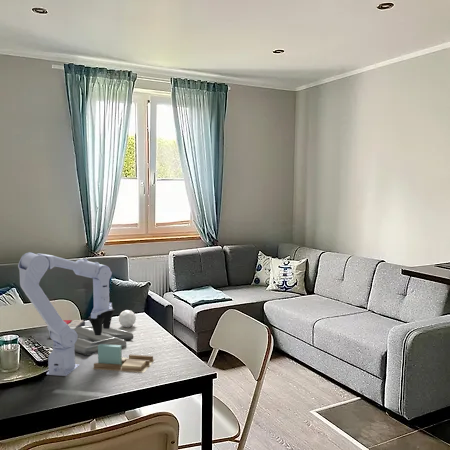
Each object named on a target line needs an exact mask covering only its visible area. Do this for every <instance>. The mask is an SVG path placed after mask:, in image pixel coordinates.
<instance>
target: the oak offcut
mask: <svg viewBox="0 0 450 450" xmlns="http://www.w3.org/2000/svg"><path fill="white" fill-rule="evenodd" d="M145 364H146V361H135V360H126V361H125V362H124V364H123V365H122V368H135V369H141V368H142V367H143V366H144V365H145Z"/></svg>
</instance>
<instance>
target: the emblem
mask: <svg viewBox="0 0 450 450" xmlns="http://www.w3.org/2000/svg"><path fill="white" fill-rule="evenodd" d="M73 330H75V331H76V333H77V335H78V338H77V341H76V343H75V344H74V346H75V353H77V354H81V355H82V356H83V355H84V356H92V355H94V354H95V353H98V345H100V344H109V345H121V347H122V349H123V348H127V346H128V345H127V342H128V341H131V340H133V339H134V334H133V333H132V332H129V331H127V330H122V329H118V328H115V327H111V326H110V328H109V329H104V328H103V324H102V333H101V335H95V333H94V329H93V326H92V325H88V326H87V325H85V326H83V327H77V328H75V329H73Z"/></svg>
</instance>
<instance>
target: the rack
mask: <svg viewBox="0 0 450 450" xmlns="http://www.w3.org/2000/svg"><path fill="white" fill-rule="evenodd" d="M126 360H135V361H146V366H145V367H144V368H143V369H142V370H141V371H132V370H122V366H121V364H106V363H98V362H94V363H93V367H92V370H101V371H102V370H103V371H115V372H116V371H117V372H129V373H141V374H142V373H143V374H144V373H146V371H147V370H148V369H149V368H150V366H151V365H152V363H153V362H154V361H155V359H154V355H143V354H142V355H141V354H129V355H128V357H122V365H123V364H124V362H125V361H126Z"/></svg>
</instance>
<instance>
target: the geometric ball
mask: <svg viewBox="0 0 450 450" xmlns="http://www.w3.org/2000/svg"><path fill="white" fill-rule="evenodd" d="M136 319H137V317H136V314H135V312H133V310H131V309H130V310H129V309H125V310H123V311H121V312H120V314H119V315H118V322H119V324H120V326H122V327H124V328H130V327H132V326H133V325H134V324H135V323H136Z"/></svg>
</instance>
